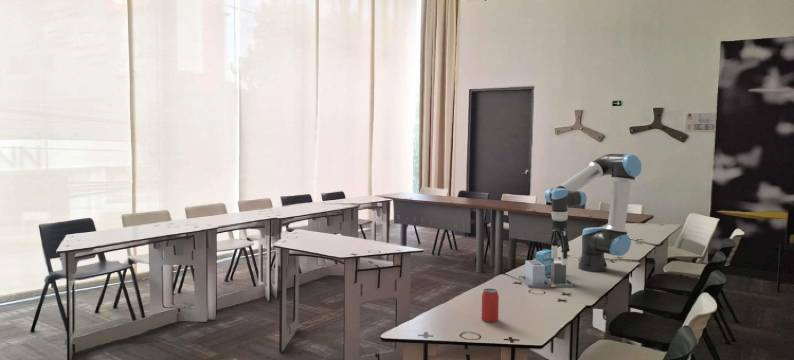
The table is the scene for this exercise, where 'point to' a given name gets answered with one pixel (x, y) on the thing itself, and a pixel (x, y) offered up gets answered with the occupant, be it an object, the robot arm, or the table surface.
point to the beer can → (490, 305)
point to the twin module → (534, 272)
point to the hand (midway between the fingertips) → (559, 261)
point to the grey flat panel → (547, 283)
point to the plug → (558, 273)
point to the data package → (545, 259)
